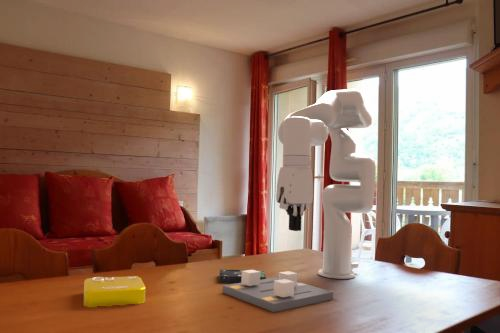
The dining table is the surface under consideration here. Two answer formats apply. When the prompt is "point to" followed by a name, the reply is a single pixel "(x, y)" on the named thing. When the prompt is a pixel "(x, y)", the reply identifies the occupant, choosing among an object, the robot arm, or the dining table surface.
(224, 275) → the disk drive
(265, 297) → the switch board
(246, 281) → the tab
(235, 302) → the dining table surface
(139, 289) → the element tile
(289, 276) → the tab
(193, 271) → the dining table surface
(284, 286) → the tab
